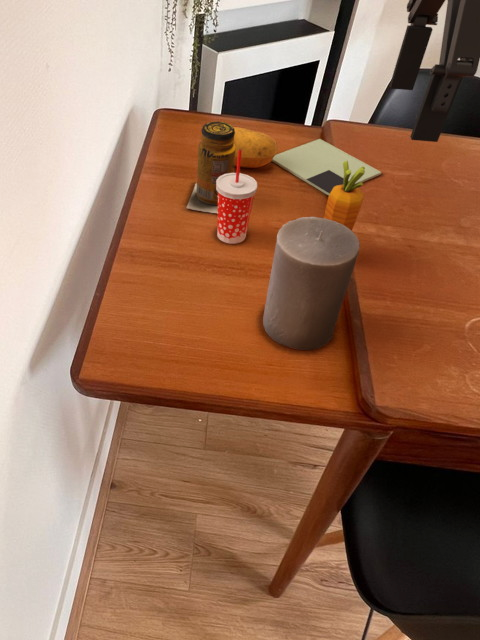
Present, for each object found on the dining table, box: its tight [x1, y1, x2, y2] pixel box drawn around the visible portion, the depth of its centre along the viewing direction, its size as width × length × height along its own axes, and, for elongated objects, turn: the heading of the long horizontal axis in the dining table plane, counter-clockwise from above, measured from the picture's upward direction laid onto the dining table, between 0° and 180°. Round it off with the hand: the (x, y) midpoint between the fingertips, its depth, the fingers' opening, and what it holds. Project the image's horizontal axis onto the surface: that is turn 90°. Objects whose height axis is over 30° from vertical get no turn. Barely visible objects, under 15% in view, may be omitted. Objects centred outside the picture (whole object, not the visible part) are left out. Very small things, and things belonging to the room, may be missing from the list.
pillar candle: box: [262, 216, 361, 351], centre depth 66 cm, size 10×10×15 cm
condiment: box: [186, 120, 236, 214], centre depth 86 cm, size 7×8×12 cm
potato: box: [233, 126, 278, 169], centre depth 97 cm, size 8×14×7 cm, turn 67°
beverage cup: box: [216, 149, 258, 245], centre depth 79 cm, size 6×6×14 cm
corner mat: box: [271, 138, 382, 197], centre depth 100 cm, size 16×14×1 cm
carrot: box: [323, 161, 365, 232], centre depth 76 cm, size 5×5×15 cm
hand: (411, 112), depth 60 cm, fingers open, 13 cm apart
